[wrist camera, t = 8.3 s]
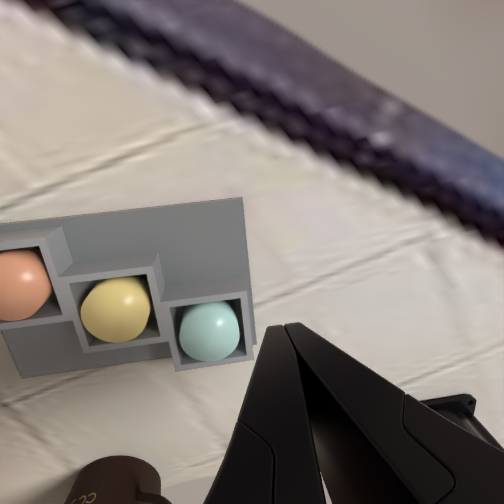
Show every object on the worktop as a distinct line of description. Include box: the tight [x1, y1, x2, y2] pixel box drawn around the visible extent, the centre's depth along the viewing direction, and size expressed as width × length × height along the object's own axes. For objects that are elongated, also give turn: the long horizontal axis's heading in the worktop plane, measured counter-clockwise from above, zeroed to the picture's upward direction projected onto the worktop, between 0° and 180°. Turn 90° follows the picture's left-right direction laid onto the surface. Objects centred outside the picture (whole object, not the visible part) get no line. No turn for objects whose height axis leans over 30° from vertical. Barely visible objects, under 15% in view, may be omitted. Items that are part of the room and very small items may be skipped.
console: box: [0, 197, 257, 378], centre depth 19 cm, size 15×10×2 cm, turn 95°
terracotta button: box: [0, 247, 55, 321], centre depth 18 cm, size 3×3×2 cm
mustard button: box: [81, 275, 153, 343], centre depth 19 cm, size 3×3×2 cm
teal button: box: [179, 300, 239, 362], centre depth 20 cm, size 3×3×2 cm
